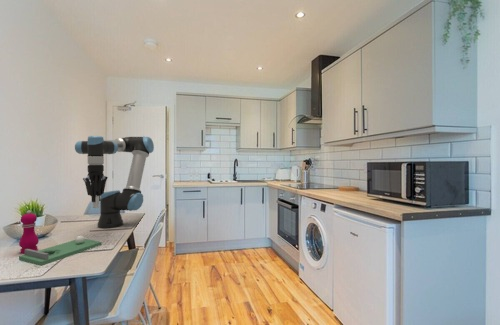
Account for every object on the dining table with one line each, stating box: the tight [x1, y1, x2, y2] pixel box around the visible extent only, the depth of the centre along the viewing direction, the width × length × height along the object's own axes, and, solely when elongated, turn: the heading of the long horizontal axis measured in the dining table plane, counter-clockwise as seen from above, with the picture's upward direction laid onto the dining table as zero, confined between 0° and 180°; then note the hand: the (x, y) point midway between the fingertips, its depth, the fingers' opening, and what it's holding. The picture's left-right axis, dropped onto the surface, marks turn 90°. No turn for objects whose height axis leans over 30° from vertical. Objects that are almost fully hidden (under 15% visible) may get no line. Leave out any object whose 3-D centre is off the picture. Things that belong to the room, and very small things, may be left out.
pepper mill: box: [18, 209, 40, 255], centre depth 125 cm, size 7×7×20 cm
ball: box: [74, 235, 85, 244], centre depth 132 cm, size 4×4×4 cm
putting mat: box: [18, 238, 102, 266], centre depth 125 cm, size 28×16×4 cm, turn 158°
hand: (95, 207), depth 140 cm, fingers closed
